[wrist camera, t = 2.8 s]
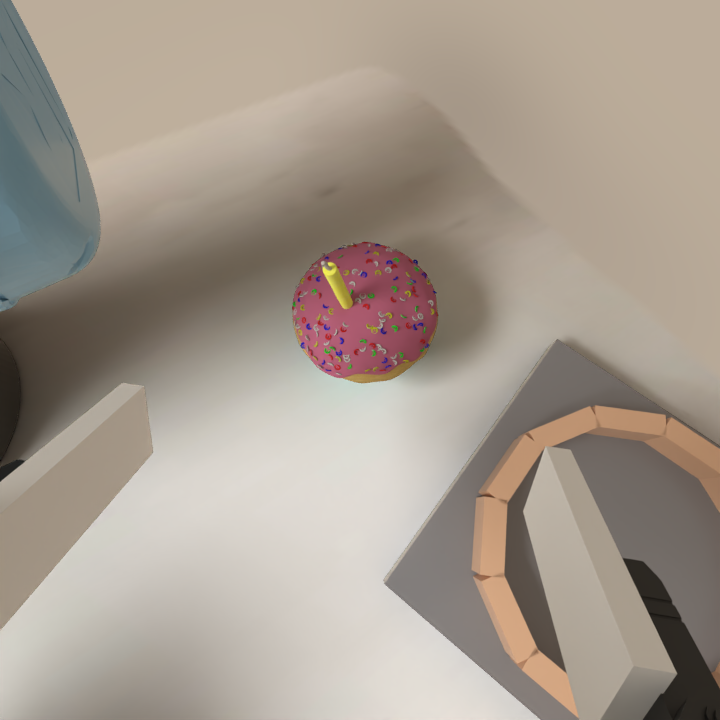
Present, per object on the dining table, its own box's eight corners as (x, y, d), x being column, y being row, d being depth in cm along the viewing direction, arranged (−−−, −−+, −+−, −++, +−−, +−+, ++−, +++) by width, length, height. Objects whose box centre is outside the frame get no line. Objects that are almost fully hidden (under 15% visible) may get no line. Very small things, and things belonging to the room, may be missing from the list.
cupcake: (352, 426, 29) (341, 370, 17) (277, 328, 31) (224, 222, 20) (455, 348, 30) (505, 249, 19) (376, 260, 33) (380, 125, 21)
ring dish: (383, 579, 26) (385, 589, 23) (548, 347, 30) (570, 326, 27) (676, 833, 22) (730, 890, 19) (817, 526, 26) (882, 528, 23)
